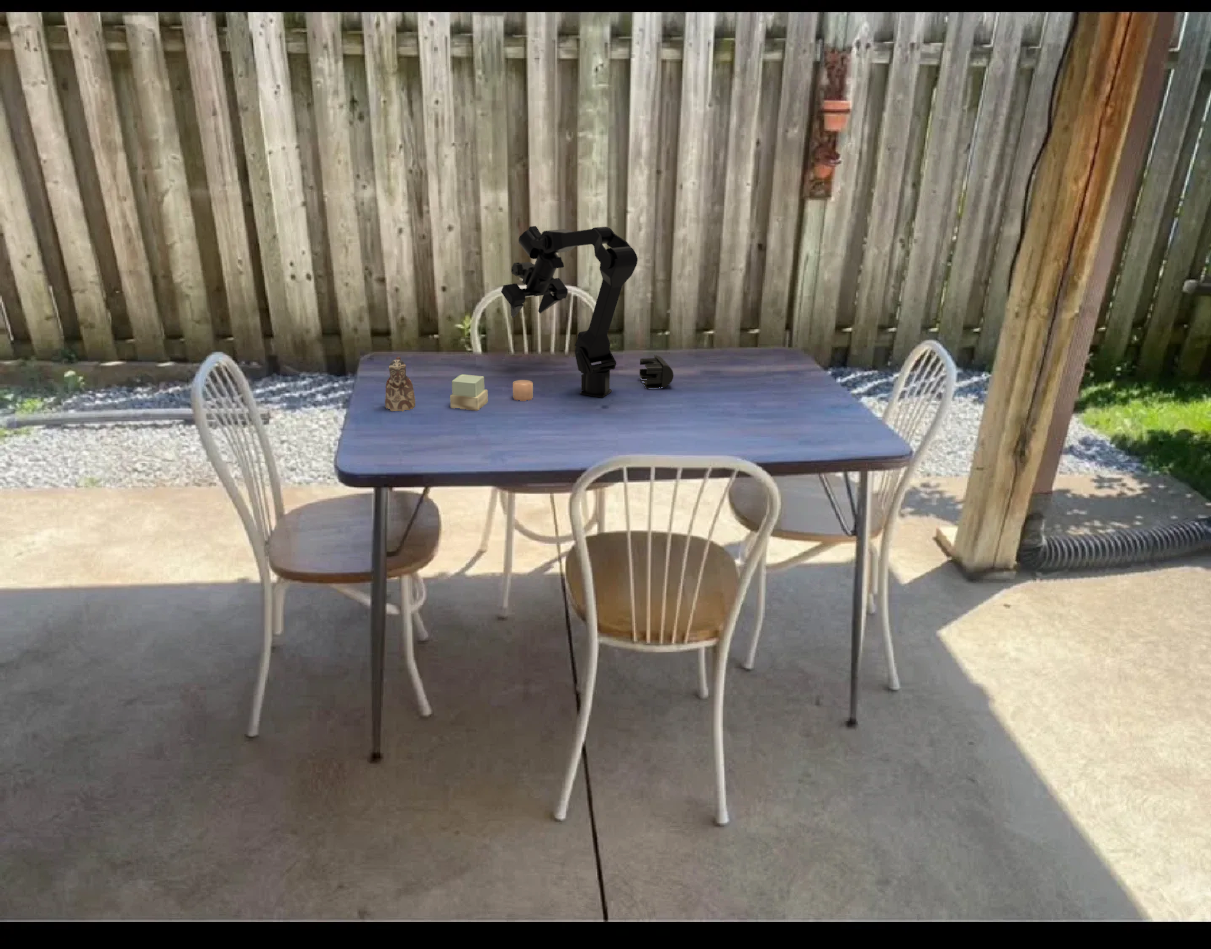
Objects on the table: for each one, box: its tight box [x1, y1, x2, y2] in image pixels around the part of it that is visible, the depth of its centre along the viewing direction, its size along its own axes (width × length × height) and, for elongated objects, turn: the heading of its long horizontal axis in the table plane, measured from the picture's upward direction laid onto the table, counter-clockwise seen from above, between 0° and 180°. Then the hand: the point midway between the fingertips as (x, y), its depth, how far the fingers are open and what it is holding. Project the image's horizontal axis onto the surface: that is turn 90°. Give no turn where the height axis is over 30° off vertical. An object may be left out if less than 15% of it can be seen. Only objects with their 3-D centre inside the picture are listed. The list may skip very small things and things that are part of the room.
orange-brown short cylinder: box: [512, 379, 534, 402], centre depth 221 cm, size 5×5×4 cm
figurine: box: [384, 356, 416, 412], centre depth 210 cm, size 7×7×12 cm
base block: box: [449, 388, 489, 412], centre depth 215 cm, size 7×7×4 cm
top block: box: [451, 374, 485, 397], centre depth 213 cm, size 6×6×4 cm
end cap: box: [639, 354, 674, 389], centre depth 234 cm, size 10×7×7 cm
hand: (526, 314), depth 242 cm, fingers open, 9 cm apart
